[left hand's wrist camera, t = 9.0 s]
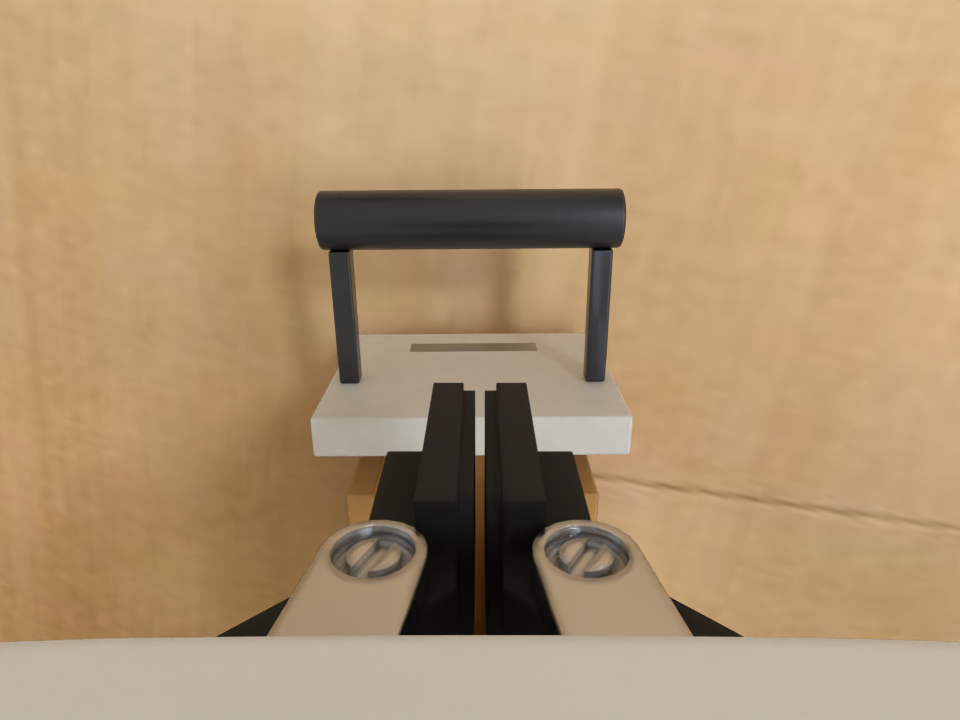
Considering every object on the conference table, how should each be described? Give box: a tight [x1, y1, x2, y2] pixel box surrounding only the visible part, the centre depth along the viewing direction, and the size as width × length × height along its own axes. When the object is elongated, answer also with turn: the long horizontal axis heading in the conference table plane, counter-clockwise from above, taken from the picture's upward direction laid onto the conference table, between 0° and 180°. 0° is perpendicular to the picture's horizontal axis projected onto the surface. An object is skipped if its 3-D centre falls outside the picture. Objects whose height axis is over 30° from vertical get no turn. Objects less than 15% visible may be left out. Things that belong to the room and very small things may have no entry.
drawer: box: [310, 189, 633, 635], centre depth 24 cm, size 22×9×7 cm, turn 0°
